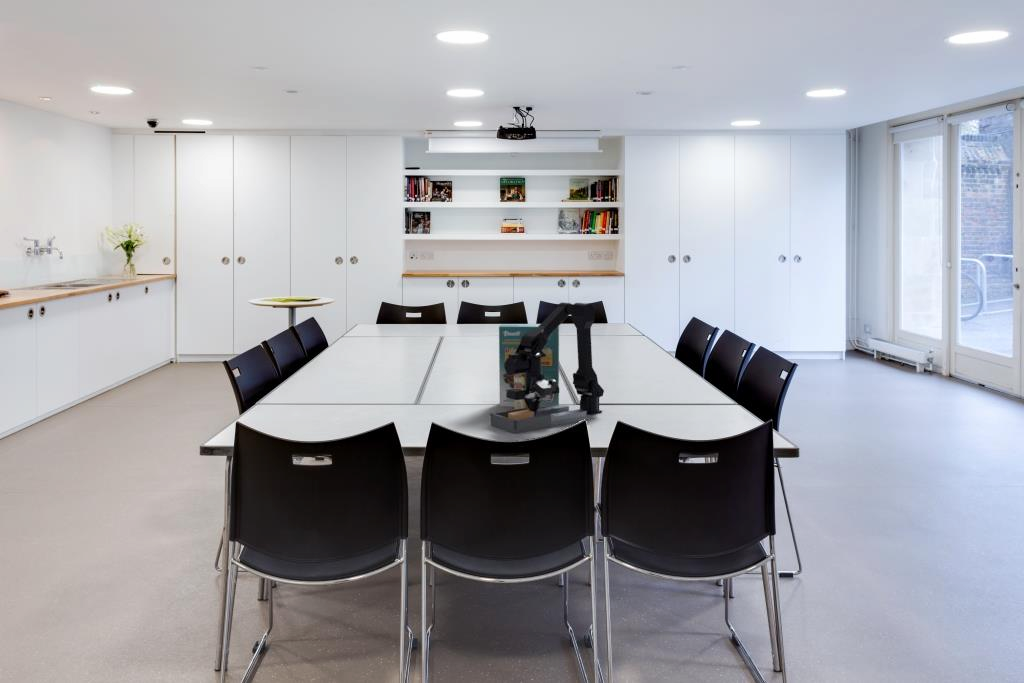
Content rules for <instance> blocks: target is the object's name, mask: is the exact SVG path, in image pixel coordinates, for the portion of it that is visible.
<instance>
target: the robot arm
mask: <svg viewBox="0 0 1024 683" xmlns="http://www.w3.org/2000/svg"><path fill="white" fill-rule="evenodd" d="M595 313H596V309H595V306H593V304H591V303H583V302H575V303H574V304H573V303H571V302H560V303H558V304H557V306H556V308H555V309H553V311H552V312H550V314H549V315H548V316H546V318H545V319H544V320H543V321H542V322H541V324H538V325H539V326H538V327H537V328H535V329H533V330H530V331H529V332H527V333H526V334H525V335H523V337H522V338H521V342H520V344H519V346H518V348H517V350H516V352H515V354H509V355H508V358H507V359H506V361H505V364H504V368H505V371H506V372H507V374H509V375H514V374H520V373H524V374H522V377H525V385H523V386H522V387H523V389H525V390H521V389H517V388H515V389H509V390H508V391H507V398H510V399H513V400H522V399H524V401H525V403H526V404H527V406H528V408H529V411H533V412H534V416H535V415H536V412H537V410H538V409H539V404H540V402H541V400H542V399H543V398H546V395H551V394H556V393H559V394H560V385H559V386H558V385H556V381H555V380H554V379H553V380H549V381H546V380H545V379H544V374H541V357H546V354H545V353H543V352H542V349H543V348H544V347H545V345H546V344H547V342H548V337H549V336H550V334H551V333H552V332H553V331H554V330H555V329H556V328H557V327H558V326H559V327H560V325H561V324H562V323H563V322H564V321H565V320H566V319H567V318H568V317H569V316H570V317H571V321H572V323H573V325H574V326H575V328H576V342H577V348H576V349H577V365H578V368H577V370H576V372H573V373H572V380H573V381H572V384H573V386H574V389H575V390H576V394H577V395H580V400H579V409H581V410H585V411H586V415H594V414H598V413H599V414H600V413H602V412H603V410H601V409H600V398H601V397H603V396H604V393H605V390H604V388H603V387H602V386H601V385H600V384H599V380H598V376H597V373H596V371H595V370H594V368H593V354H592V352H593V351H592V334H591V333H592V331H591V328H592V326H593V323H594V322H595V316H596V314H595ZM525 350H528V351H525ZM531 391H532V392H531Z"/></svg>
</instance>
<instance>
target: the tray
mask: <svg viewBox="0 0 1024 683" xmlns="http://www.w3.org/2000/svg"><path fill="white" fill-rule="evenodd" d="M524 410H528V408H520V409H515V408H514V409H509V410H503V411H497V412H491V413H490V426H491V427H494V428H496V429H497V428H498V429H500V430H503V431H506V432H509V433H512V434H514V435H515V434H516V435H517V434H521V433H526V432H533V431H537V430H541V429H548V428H552V427H551V415H550V414H548V415H543V416H537V417H531V418H526V419H520V420H513V419H510V418H508V413H512V412H518V411H524Z"/></svg>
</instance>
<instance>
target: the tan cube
mask: <svg viewBox="0 0 1024 683" xmlns="http://www.w3.org/2000/svg"><path fill="white" fill-rule="evenodd" d="M508 418H510V419H513V420H520V419H525V414H524V413H521V412H512V413H508Z"/></svg>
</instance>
